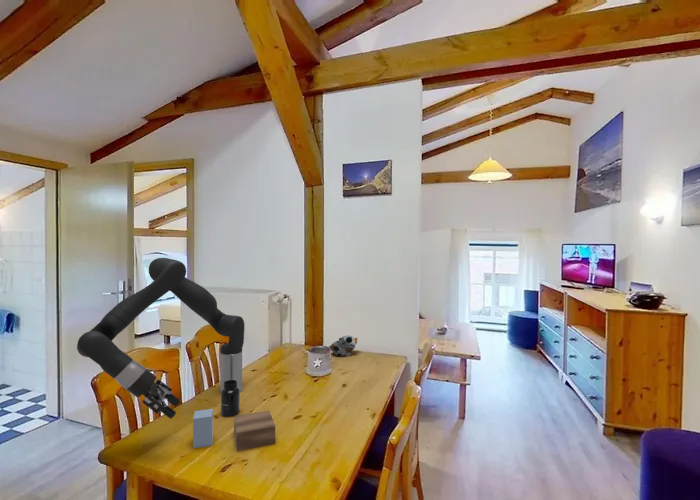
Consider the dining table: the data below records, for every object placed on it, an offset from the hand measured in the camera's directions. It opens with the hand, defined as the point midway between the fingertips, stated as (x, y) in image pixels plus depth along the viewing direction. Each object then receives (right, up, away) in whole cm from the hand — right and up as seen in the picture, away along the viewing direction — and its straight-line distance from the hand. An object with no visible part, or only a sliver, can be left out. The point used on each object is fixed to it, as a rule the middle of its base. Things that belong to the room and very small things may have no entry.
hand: (176, 409), depth 117 cm
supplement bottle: (+10, -12, +23) cm, 28 cm away
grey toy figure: (+52, -10, +97) cm, 111 cm away
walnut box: (+24, -12, +5) cm, 27 cm away
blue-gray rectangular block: (+8, -12, +2) cm, 14 cm away
